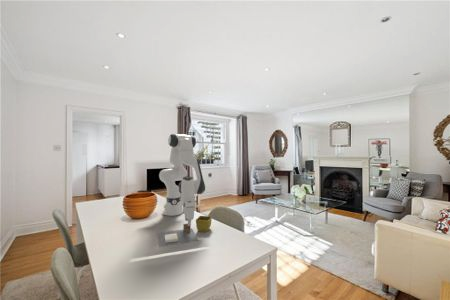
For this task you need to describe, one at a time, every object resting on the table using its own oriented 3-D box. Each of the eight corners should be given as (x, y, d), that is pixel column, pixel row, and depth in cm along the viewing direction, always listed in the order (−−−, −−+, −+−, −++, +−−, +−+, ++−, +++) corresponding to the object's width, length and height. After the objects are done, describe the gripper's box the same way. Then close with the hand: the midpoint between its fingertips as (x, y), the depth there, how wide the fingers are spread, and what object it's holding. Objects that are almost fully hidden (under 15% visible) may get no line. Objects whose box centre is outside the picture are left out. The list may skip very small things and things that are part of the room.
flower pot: (208, 234, 127) (208, 220, 127) (195, 233, 129) (195, 219, 129) (211, 229, 136) (211, 216, 136) (199, 228, 137) (199, 215, 138)
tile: (164, 234, 120) (165, 240, 112) (176, 233, 122) (177, 238, 115) (164, 237, 120) (165, 243, 112) (176, 235, 122) (177, 241, 115)
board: (157, 234, 127) (157, 232, 127) (192, 230, 134) (192, 228, 134) (159, 248, 108) (159, 246, 108) (198, 242, 116) (198, 240, 116)
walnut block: (183, 230, 131) (183, 224, 131) (189, 229, 133) (189, 223, 133) (184, 232, 128) (184, 226, 128) (190, 231, 129) (190, 225, 129)
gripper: (180, 198, 139) (180, 218, 139) (185, 205, 120) (185, 228, 120) (189, 198, 141) (189, 217, 141) (195, 204, 122) (195, 227, 122)
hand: (187, 222), depth 130 cm, fingers open, 8 cm apart
